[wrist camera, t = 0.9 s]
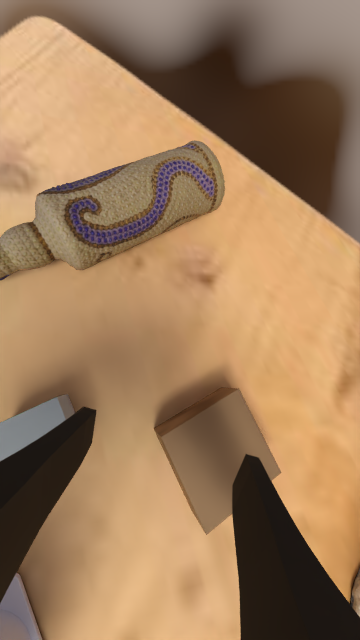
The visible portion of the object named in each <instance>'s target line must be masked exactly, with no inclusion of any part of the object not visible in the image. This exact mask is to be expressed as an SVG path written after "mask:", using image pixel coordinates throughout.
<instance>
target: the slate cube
mask: <svg viewBox="0 0 360 640" xmlns="http://www.w3.org/2000/svg"><path fill="white" fill-rule="evenodd" d="M74 413H75V411H74V409H73V406H72V404H71V401H70V399H69V396H68V394H65V395H62V396H58V397H56V398H53V399H51V400H49V401H47V402H45V403H42V404H40V405H38V406H36V407H34V408H31V409H29V410H27V411H25V412H23V413H20V414H18V415H16V416H14V417H12V418H9V419H7V420H5V421H3V422H1V423H0V461H1V460H3V459H5V458H7V457H9V456H10V455H12V454H14V453H16V452H17V451H19V450H21V449H22V448H24V447H26V446H27V445H29V444H30V443H32V442H34V441H35V440H37V439H38V438H40V437H42V436H43V435H45V434H46V433H48V432H49V431H50V430H52V429H53V428H55V427H56V426H58V425H59V424H61V423H62V422H63V421H65V420H66V419H68V418H69V417H70V416H72V415H73V414H74Z"/></svg>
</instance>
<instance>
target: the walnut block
mask: <svg viewBox="0 0 360 640" xmlns="http://www.w3.org/2000/svg"><path fill="white" fill-rule="evenodd" d="M154 430H155V432H156V434H157V436H158V439H159V441H160V443H161V445H162V447H163V449H164V452H165V454H166V456H167V458H168V460H169V462H170V465H171V467H172V469H173V471H174V473H175V475H176V478H177V480H178V482H179V484H180V486H181V488H182V490H183V493H184V495H185V497H186V499H187V501H188V503H189V506H190V508H191V510H192V512H193V513H194V515H195V517H196V518H197V520H198V522H199V523H200V525H201V527H202V528H203V530H204V532H205V533H206V535H207V534H208V533H209V532H211V531H212V530H213V529H214V528H215V527H217V526H218V525H219V524H220V523H221V522H223V521H224V520H225V519H226V518H227V517H229V516H230V515H231V514H232V485H233V482H234V480H235V478H236V475H237V473H238V471H239V468H240V466H241V464H242V462H243V459H244V457H245V455H246V454H248V455H252V456H255V457H259V459H260V460H261V462H262V464H263V466H264V468H265V470H266V472H267V474H268V476H269V478H270V480H271V481H272V480H273V479H274V478H275V477H276V476H278V475H279V474H280V473H281V471H280V469H279V467H278V465H277V463H276V461H275V459H274V457H273V455H272V453H271V451H270V449H269V447H268V445H267V443H266V441H265V439H264V437H263V435H262V433H261V431H260V430H259V428H258V426H257V424H256V422H255V420H254V418H253V416H252V414H251V412H250V410H249V408H248V406H247V404H246V402H245V400H244V398H243V396H242V394H241V392H240V390H239V389H235V388H220V389H218V390H217V391H215V392H213V393H212V394H210V395H209V396H207V397H205V398H204V399H202V400H200V401H199V402H197V403H195V404H194V405H192V406H190V407H189V408H187V409H185V410H184V411H182V412H180V413H179V414H177V415H175V416H174V417H172V418H170V419H169V420H167V421H165V422H164V423H162V424H160V425H159V426H157V427H155V428H154Z"/></svg>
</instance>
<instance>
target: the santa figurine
mask: <svg viewBox="0 0 360 640" xmlns="http://www.w3.org/2000/svg"><path fill="white" fill-rule="evenodd" d="M351 606H352V608H353V609H354V610H355V612H356V613H357V614H358V615H359V617H360V570H359V572H358V574H357V577H356V579H355V582H354V586H353V589H352V597H351Z"/></svg>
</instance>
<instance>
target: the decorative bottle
mask: <svg viewBox="0 0 360 640" xmlns="http://www.w3.org/2000/svg"><path fill="white" fill-rule="evenodd" d="M224 191H225V186H224V177H223V173H222V169H221V166H220V163H219V161H218V159H217V157H216V155H214V153H213V152H212V151H211V150H210V148H209V147H208V146H207V145H205V144H204V143H202V142H199V141H191V142H189V143H187V144H186V145H184V146H182V147H178V148H176V149H173V150H168V151H166V152H162V153H159V154H156V155H153V156H150V157H146V158H143V159H141V160H138V161H136V162H132V163H129V164H126V165H122V166H118V167H115V168H112V169H110V170H107V171H103V172H100V173H98V174H96V175H93V176H90V177H87V178H84V179H81V180H78V181H75V182H72V183H66V184H63V185H61V186H59V185H58V186H57V187H52V188H51V189H48V190H45V191H43V192H41V193H39V194H37V197H36V202H35V211H36V218H35V219H34V220H33V222H29V223H23V224H20V225H17V226H15V227H12V228H10V229H8V230H7V231H6V232H4V234H3V235H2V236H1V237H0V280H3V279H4V278H6V277H7V276H9V275H11V274H12V273H14V272H16V271H18V270H28V269H34V268H39V267H42V266H45V265H47V264H50V263H51V262H52V261H53V260H54V259H62V260H63V261H64V262H67V263H68V264H69V265H70V266H72V267H74V268H75V269H76V270H84V269H86V268H88V267H90V266H92V265H94V264H96V263H98V262H100V261H102V260H104V259H107V258H109V257H111V256H114V255H116V254H118V253H120V252H122V251H124V250H127V249H129V248H131V247H133V246H135V245H137V244H140V243H142V242H144V241H146V240H148V239H151V238H152V237H154V236H157V235H159V234H162V233H164V232H166V231H169V230H170V229H173V228H175V227H177V226H178V225H181V224H183V223H185V222H188V221H191V220H192V219H195V218H197V217H198V216H200V215H204V214H206V213H211V212H212V211H214V210H216V209H217V208H218V207H219V206H220V205H221V202H222V199H223V196H224Z"/></svg>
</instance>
